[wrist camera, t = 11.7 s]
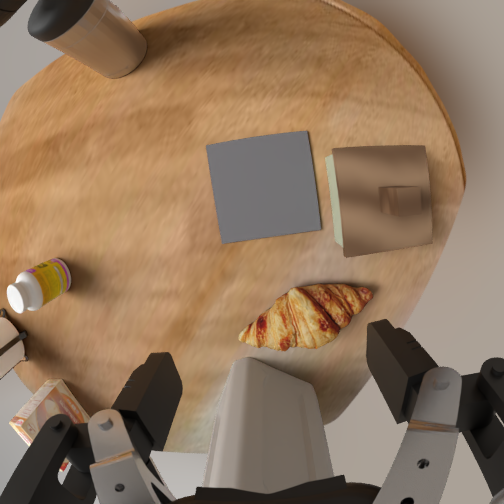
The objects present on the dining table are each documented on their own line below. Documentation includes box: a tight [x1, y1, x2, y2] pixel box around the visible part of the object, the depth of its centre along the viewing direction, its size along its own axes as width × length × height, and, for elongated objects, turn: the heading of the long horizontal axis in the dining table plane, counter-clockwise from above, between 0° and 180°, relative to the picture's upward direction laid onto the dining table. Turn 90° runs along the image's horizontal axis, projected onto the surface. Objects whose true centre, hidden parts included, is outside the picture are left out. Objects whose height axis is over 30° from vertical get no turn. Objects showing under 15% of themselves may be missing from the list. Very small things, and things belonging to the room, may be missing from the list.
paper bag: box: [202, 357, 334, 494], centre depth 32 cm, size 19×15×28 cm
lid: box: [332, 145, 432, 258], centre depth 28 cm, size 13×13×6 cm
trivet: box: [206, 131, 321, 244], centre depth 37 cm, size 14×14×1 cm
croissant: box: [238, 284, 373, 351], centre depth 39 cm, size 21×10×8 cm, turn 113°
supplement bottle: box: [7, 258, 71, 313], centre depth 35 cm, size 7×7×13 cm
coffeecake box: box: [9, 379, 90, 472], centre depth 41 cm, size 15×7×20 cm, turn 18°
